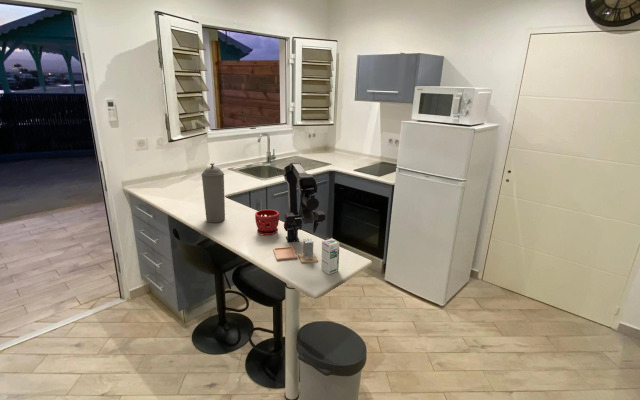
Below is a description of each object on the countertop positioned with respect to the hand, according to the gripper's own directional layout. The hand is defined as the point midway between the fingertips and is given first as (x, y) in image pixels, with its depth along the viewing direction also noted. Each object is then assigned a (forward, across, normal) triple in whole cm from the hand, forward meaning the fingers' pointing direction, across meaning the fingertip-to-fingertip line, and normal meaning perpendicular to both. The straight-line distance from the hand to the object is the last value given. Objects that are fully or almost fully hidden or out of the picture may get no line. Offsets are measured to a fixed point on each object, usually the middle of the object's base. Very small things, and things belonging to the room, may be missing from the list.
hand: (304, 233), depth 166 cm
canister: (+15, -42, +58) cm, 73 cm away
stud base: (+13, +2, -2) cm, 13 cm away
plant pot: (+14, -14, +33) cm, 38 cm away
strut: (+10, +2, -2) cm, 11 cm away
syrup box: (+13, +9, -15) cm, 21 cm away
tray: (+13, -8, +5) cm, 16 cm away
